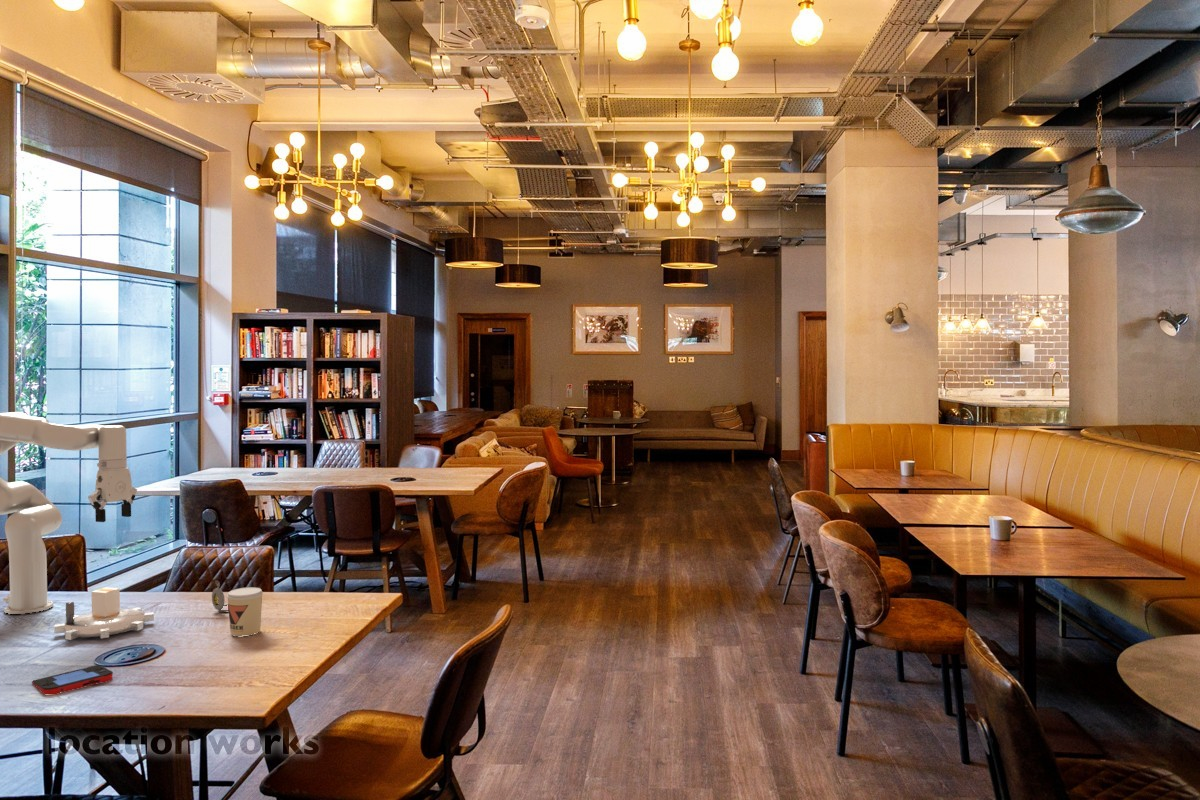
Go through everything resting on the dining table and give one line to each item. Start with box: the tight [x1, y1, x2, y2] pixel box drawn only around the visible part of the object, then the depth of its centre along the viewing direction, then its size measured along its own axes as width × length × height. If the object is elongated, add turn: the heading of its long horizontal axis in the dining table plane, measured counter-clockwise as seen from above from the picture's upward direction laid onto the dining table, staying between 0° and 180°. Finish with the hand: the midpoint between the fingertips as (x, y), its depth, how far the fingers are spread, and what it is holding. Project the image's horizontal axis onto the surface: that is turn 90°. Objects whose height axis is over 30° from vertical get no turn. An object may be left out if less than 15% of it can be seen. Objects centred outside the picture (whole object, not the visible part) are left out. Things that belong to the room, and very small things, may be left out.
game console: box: [31, 664, 114, 695], centre depth 195 cm, size 14×13×2 cm
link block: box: [91, 587, 121, 617], centre depth 240 cm, size 5×5×7 cm
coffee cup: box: [226, 586, 264, 636], centre depth 232 cm, size 9×9×12 cm
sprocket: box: [53, 601, 155, 641], centre depth 235 cm, size 24×24×8 cm
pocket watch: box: [211, 580, 229, 612], centre depth 254 cm, size 8×8×10 cm
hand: (113, 519), depth 255 cm, fingers open, 9 cm apart
